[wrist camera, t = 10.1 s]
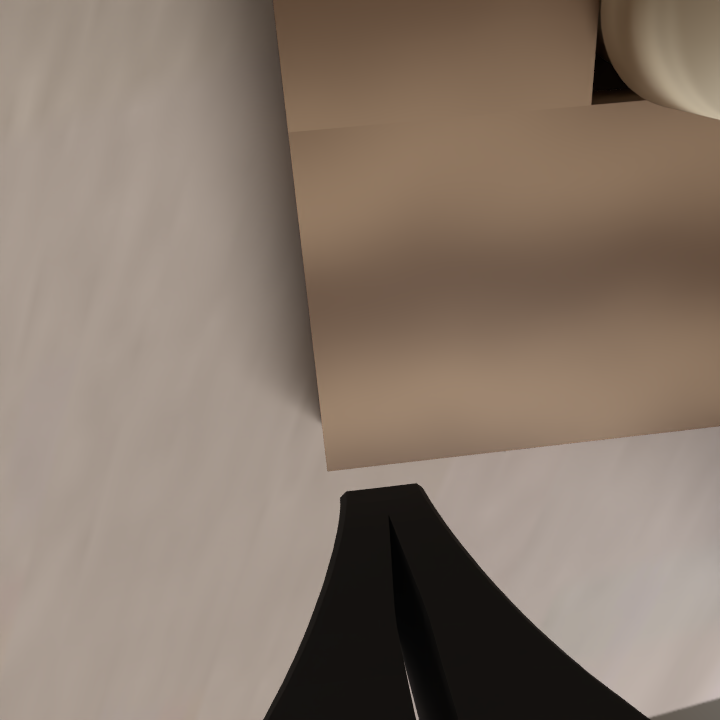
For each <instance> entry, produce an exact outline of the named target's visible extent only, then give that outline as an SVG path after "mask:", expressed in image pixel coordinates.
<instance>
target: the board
mask: <svg viewBox="0 0 720 720" xmlns="http://www.w3.org/2000/svg"><path fill="white" fill-rule="evenodd" d="M599 2H600V0H273V7H274V15H275V24H276V32H277V41H278V50H279V58H280V67H281V76H282V84H283V93H284V101H285V110H286V119H287V127H288V136H289V144H290V153H291V162H292V170H293V179H294V188H295V196H296V205H297V213H298V222H299V231H300V239H301V248H302V256H303V265H304V274H305V282H306V291H307V300H308V308H309V317H310V325H311V334H312V343H313V351H314V360H315V368H316V377H317V386H318V394H319V403H320V412H321V420H322V429H323V437H324V446H325V455H326V463H327V471H335V470H344V469H352V468H361V467H370V466H378V465H387V464H396V463H404V462H413V461H422V460H430V459H439V458H448V457H456V456H465V455H474V454H482V453H491V452H500V451H509V450H517V449H526V448H535V447H543V446H552V445H561V444H569V443H578V442H587V441H595V440H604V439H613V438H621V437H630V436H639V435H647V434H656V433H665V432H673V431H682V430H691V429H699V428H708V427H717V426H720V120H719V119H714V118H710V117H706V116H701V115H697V114H693V113H688V112H684V111H680V110H676V109H671V108H667V107H663V106H660V105H657V104H654V103H651V102H649V101H647V100H646V99H644V98H642V97H640V96H639V95H638V94H636V93H635V92H634V91H632V90H631V89H630V88H622V89H611V90H600V91H592V89H593V76H594V64H595V51H596V39H597V26H598V14H599Z"/></svg>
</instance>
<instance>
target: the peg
mask: <svg viewBox="0 0 720 720" xmlns="http://www.w3.org/2000/svg"><path fill="white" fill-rule="evenodd" d="M595 53H596V54H597V55H598V56H599V57H601V58H602V59H603V60H605V61H607V62H608V63H610V64H612V65H613V67H614V69H615V70H616V72H617V73H618V75H619V76H620V78H621V79H622V80H623V81H624V83H625V84H626V85H627V86H628V87H629V88H630V89H631V90H632V91H634V92H635V93H636V94H638V95H639V96H640V97H642V98H644V99H646V100H647V101H649V102H651V103H654V104H657V105H660V106H663V107H667V108H671V109H676V110H680V111H684V112H688V113H693V114H697V115H701V116H706V117H710V118H714V119H719V120H720V0H600V2H599V14H598V26H597V39H596V51H595Z"/></svg>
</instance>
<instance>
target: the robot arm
mask: <svg viewBox="0 0 720 720" xmlns="http://www.w3.org/2000/svg"><path fill="white" fill-rule="evenodd" d="M404 663H405V665H404ZM405 667H406V670H405ZM406 671H407V675H408V679H409V683H410V686H411V690H412V694H413V698H414V702H415V706H416V709H417V713H418V717H419V720H650V719H649V718H647V717H646V716H645V715H643V714H642V713H641V712H639V711H638V710H637V709H635V708H634V707H633V706H632V705H630V704H629V703H628V702H626V701H625V700H624V699H622V698H621V697H620V696H618V695H617V694H616V693H614V692H613V691H612V690H610V689H609V688H608V687H606V686H605V685H604V684H603V683H601V682H600V681H599V680H597V679H596V678H595V677H593V676H592V675H591V674H590V673H588V672H587V671H586V670H585V669H584V668H582V667H581V666H580V665H579V664H578V663H577V662H575V661H574V660H573V659H572V658H571V657H569V656H568V655H567V654H566V653H565V652H564V651H562V650H561V649H560V648H559V647H558V646H557V645H556V644H555V643H554V642H552V641H551V640H550V639H549V638H548V637H547V636H546V635H545V634H544V633H543V632H542V631H540V630H539V629H538V628H537V627H536V626H535V625H534V624H533V623H532V622H531V621H530V620H529V619H528V618H527V617H526V616H525V615H524V614H523V613H522V612H521V611H520V610H519V609H518V608H517V607H516V606H515V605H514V604H513V603H512V602H511V601H510V600H509V599H508V598H507V596H506V595H505V594H504V593H503V592H502V591H501V590H500V589H499V588H498V587H497V586H496V585H495V584H494V582H493V581H492V580H491V579H490V578H489V577H488V576H487V575H486V573H485V572H484V571H483V570H482V569H481V568H480V566H479V565H478V564H477V563H476V561H475V560H474V559H473V558H472V557H471V555H470V554H469V553H468V552H467V551H466V549H465V548H464V547H463V546H462V544H461V543H460V542H459V541H458V539H457V538H456V537H455V535H454V534H453V533H452V531H451V530H450V529H449V527H448V526H447V525H446V523H445V522H444V520H443V519H442V518H441V516H440V515H439V513H438V512H437V510H436V509H435V507H434V506H433V504H432V503H431V501H430V499H429V498H428V496H427V494H426V493H425V491H424V489H423V488H422V487H421V486H419V485H418V484H417V483H416V484H407V485H398V486H390V487H381V488H373V489H364V490H356V491H347V492H345V493H344V494H343V495H342V496H341V497H340V517H339V524H338V530H337V535H336V539H335V544H334V548H333V552H332V556H331V559H330V563H329V566H328V570H327V573H326V577H325V580H324V583H323V586H322V589H321V592H320V595H319V598H318V600H317V603H316V606H315V609H314V611H313V614H312V617H311V619H310V622H309V625H308V627H307V630H306V632H305V635H304V637H303V640H302V642H301V644H300V647H299V649H298V651H297V653H296V656H295V658H294V660H293V662H292V664H291V666H290V669H289V671H288V673H287V675H286V677H285V679H284V681H283V683H282V685H281V687H280V689H279V691H278V693H277V695H276V697H275V698H274V700H273V702H272V704H271V706H270V708H269V710H268V712H267V714H266V716H265V717H264V719H263V720H416V717H415V712H414V708H413V703H412V698H411V694H410V689H409V684H408V679H407V675H406Z"/></svg>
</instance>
